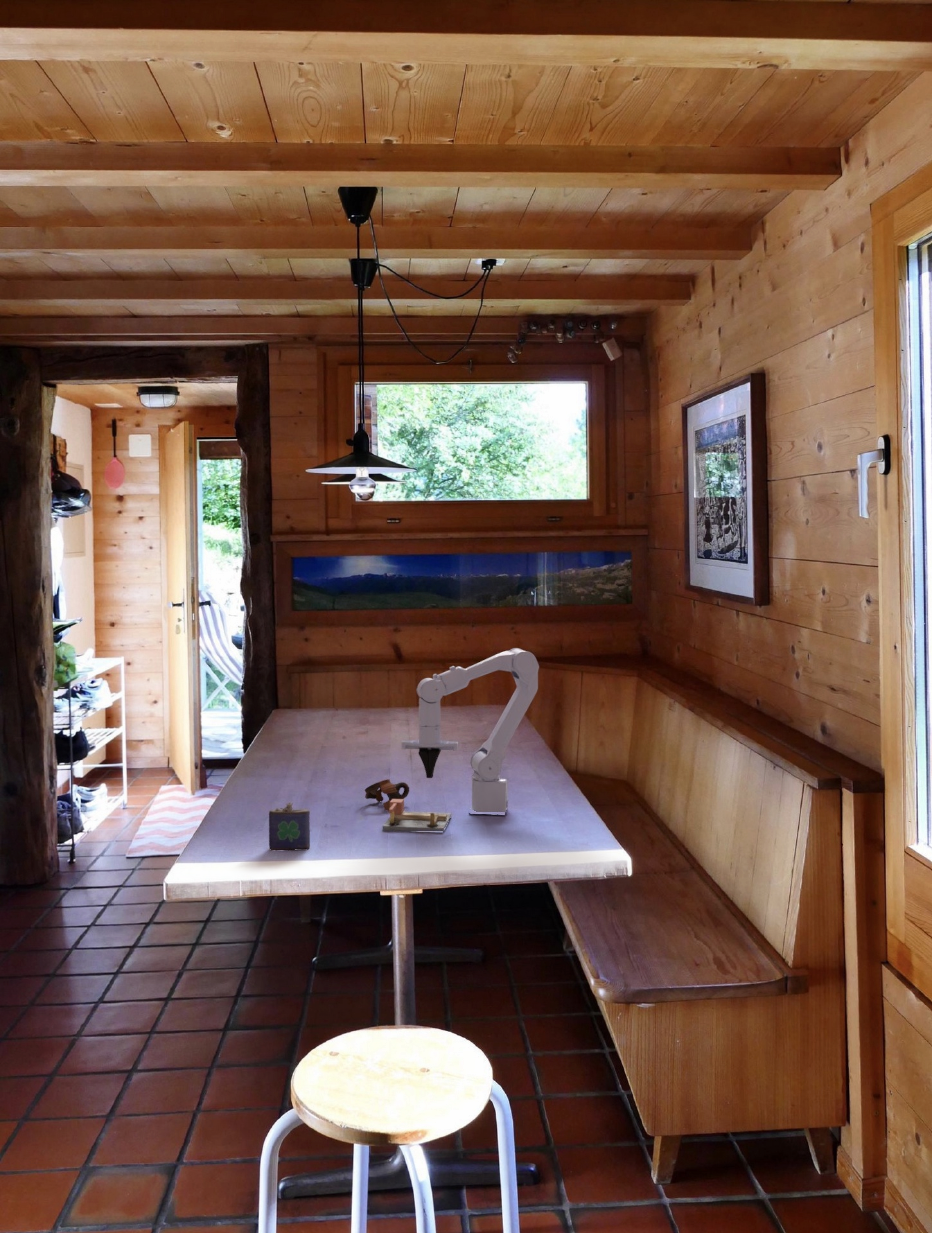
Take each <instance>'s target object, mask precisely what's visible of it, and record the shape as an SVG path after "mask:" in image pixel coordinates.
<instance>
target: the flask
mask: <svg viewBox="0 0 932 1233" xmlns="http://www.w3.org/2000/svg"><path fill="white" fill-rule="evenodd" d="M285 804H286V806H285V807H283V808H282V807H280V808H279V807H276V809H275V808H274V809H270V810H269V812H268V846H269V847H268V848H269V850H270V849H271V850H270V851H272V850H288V851H296V850H295V849H305V850H306V849H307V850H309V849H310V847H311V833H310V832H311V830H310V829H311V828H310V820H311V818H310V816H311V815H310V813H311V811H310V810H309V809H307V808H300V809H297V808H296V809H293V804H294V803H293V802H287V803H285ZM308 848H309V849H308Z"/></svg>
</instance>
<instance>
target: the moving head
mask: <svg viewBox="0 0 932 1233" xmlns="http://www.w3.org/2000/svg"><path fill="white" fill-rule="evenodd" d="M404 811H405V798H404V799H392V800H391V801H390V809H389V810H388V813H389V817H390V823H394V814H402V813H403V812H404Z"/></svg>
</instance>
